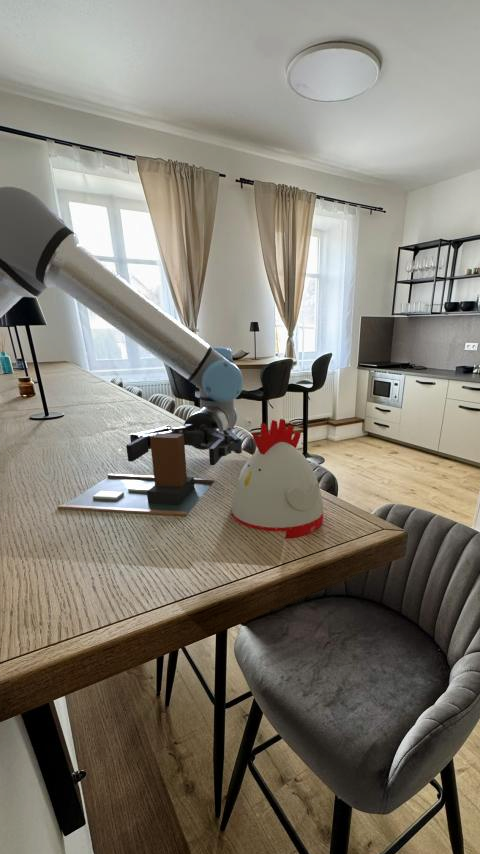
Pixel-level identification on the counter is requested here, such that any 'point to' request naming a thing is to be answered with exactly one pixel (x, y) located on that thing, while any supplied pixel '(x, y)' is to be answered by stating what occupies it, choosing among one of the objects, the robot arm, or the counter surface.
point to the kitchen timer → (278, 486)
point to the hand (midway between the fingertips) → (170, 455)
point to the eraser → (169, 470)
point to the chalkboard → (134, 497)
